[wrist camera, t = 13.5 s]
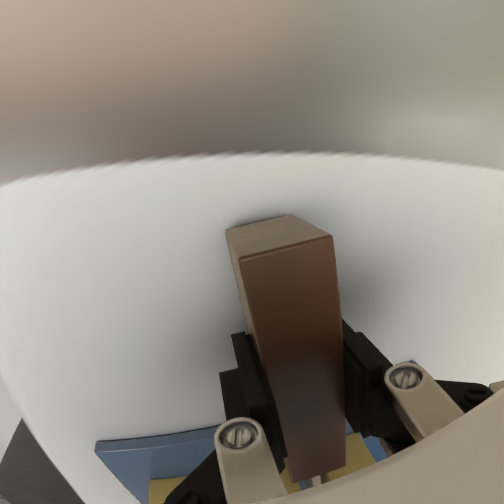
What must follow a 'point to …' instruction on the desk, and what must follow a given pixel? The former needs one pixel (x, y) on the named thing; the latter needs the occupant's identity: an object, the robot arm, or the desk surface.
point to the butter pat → (351, 459)
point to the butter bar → (164, 486)
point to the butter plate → (175, 457)
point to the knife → (296, 335)
